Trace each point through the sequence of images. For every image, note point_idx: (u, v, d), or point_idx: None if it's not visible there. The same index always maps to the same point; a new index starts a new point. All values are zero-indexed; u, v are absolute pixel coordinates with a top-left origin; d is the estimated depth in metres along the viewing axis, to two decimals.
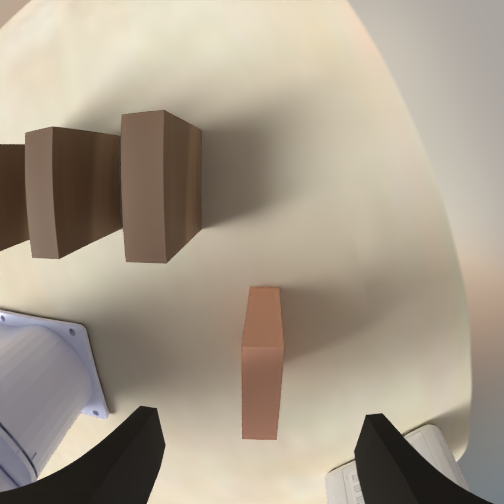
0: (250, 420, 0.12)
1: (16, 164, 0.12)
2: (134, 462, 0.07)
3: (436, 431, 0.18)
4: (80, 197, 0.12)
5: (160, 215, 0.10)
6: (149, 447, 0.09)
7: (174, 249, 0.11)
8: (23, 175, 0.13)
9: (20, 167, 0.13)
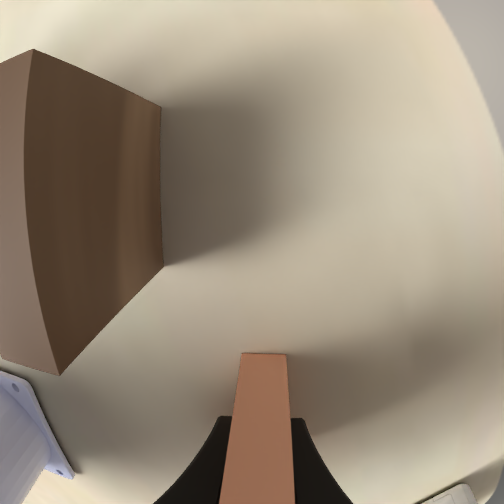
0: None
1: None
2: None
3: (467, 491, 0.12)
4: None
5: (30, 283, 0.04)
6: None
7: (84, 336, 0.05)
8: None
9: None
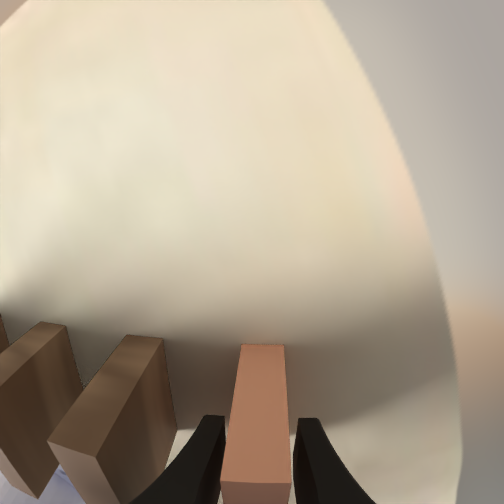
0: None
1: None
2: (211, 475, 0.07)
3: None
4: (38, 435, 0.09)
5: None
6: (219, 457, 0.08)
7: None
8: None
9: None
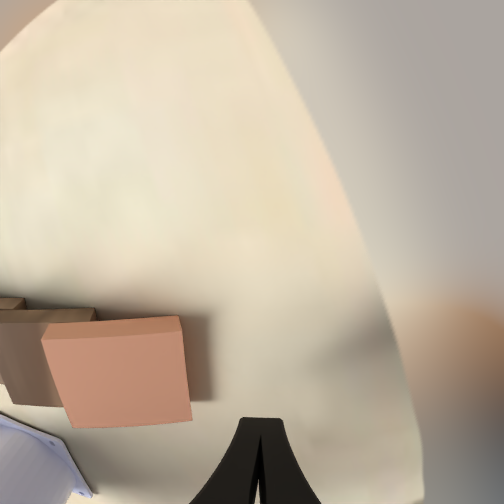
0: None
1: None
2: (254, 478, 0.07)
3: None
4: None
5: (3, 379, 0.12)
6: (258, 459, 0.08)
7: (27, 402, 0.12)
8: None
9: None
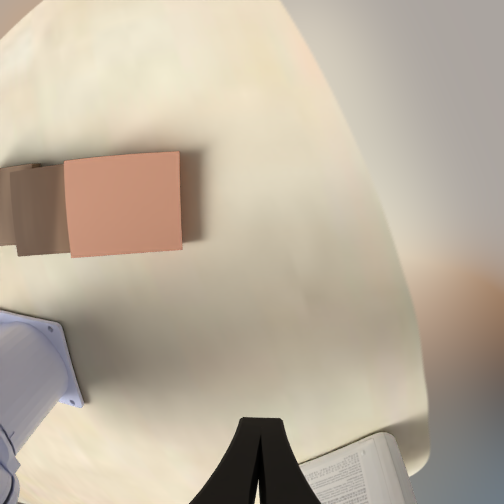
0: None
1: None
2: (254, 478, 0.07)
3: (389, 439, 0.20)
4: None
5: (15, 229, 0.15)
6: (258, 459, 0.08)
7: (31, 251, 0.15)
8: None
9: None
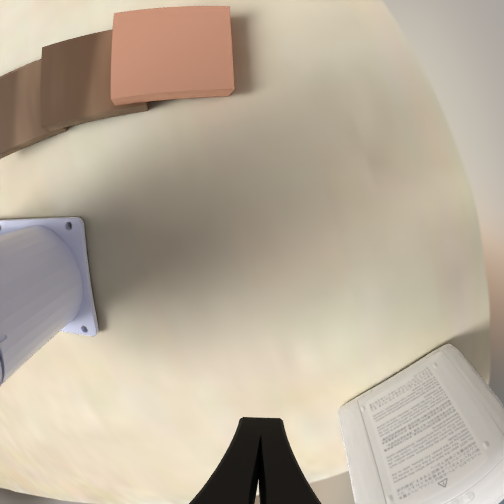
0: None
1: None
2: (254, 478, 0.07)
3: (458, 351, 0.18)
4: (2, 119, 0.14)
5: (41, 100, 0.13)
6: (258, 459, 0.08)
7: (57, 119, 0.13)
8: None
9: None
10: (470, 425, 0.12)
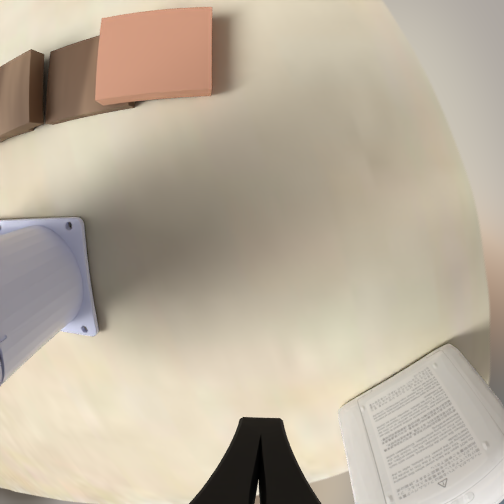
0: None
1: None
2: (254, 478, 0.07)
3: (458, 351, 0.18)
4: None
5: (47, 99, 0.15)
6: (258, 459, 0.08)
7: (57, 117, 0.15)
8: None
9: None
10: (470, 425, 0.12)
